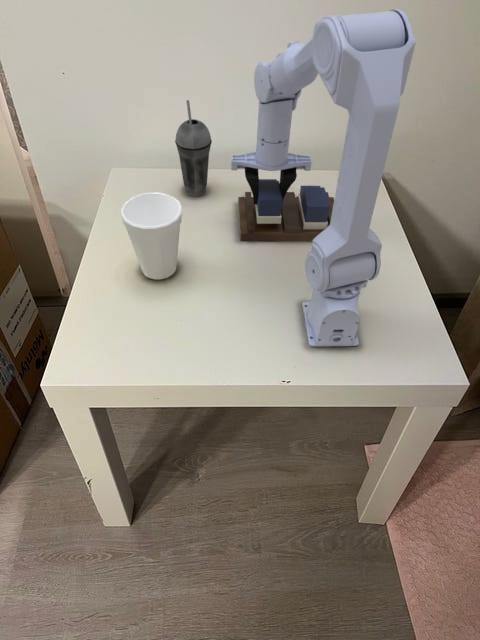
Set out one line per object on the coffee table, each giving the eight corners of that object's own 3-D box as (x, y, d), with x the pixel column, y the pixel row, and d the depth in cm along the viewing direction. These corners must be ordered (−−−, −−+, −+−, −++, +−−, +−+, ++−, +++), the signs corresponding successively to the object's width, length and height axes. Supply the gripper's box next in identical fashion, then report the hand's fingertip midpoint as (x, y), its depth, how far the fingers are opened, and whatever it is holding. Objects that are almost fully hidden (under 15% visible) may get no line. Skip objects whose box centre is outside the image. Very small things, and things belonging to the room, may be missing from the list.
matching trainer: (326, 229, 94) (331, 207, 90) (303, 229, 94) (306, 207, 90) (319, 199, 101) (322, 178, 97) (297, 199, 101) (300, 177, 97)
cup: (154, 244, 93) (146, 185, 83) (197, 263, 90) (194, 203, 80) (119, 274, 87) (107, 214, 77) (164, 296, 84) (157, 236, 74)
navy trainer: (280, 223, 93) (283, 201, 89) (256, 223, 93) (258, 201, 89) (276, 193, 99) (278, 171, 96) (254, 193, 99) (255, 171, 95)
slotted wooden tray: (341, 241, 95) (345, 227, 93) (240, 241, 94) (240, 227, 92) (331, 204, 103) (334, 192, 101) (238, 204, 102) (238, 191, 100)
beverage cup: (219, 188, 106) (218, 96, 91) (199, 204, 102) (196, 110, 87) (191, 178, 108) (187, 86, 94) (172, 193, 104) (163, 100, 89)
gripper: (311, 124, 88) (302, 189, 98) (231, 123, 87) (230, 189, 97) (317, 144, 83) (306, 210, 93) (232, 143, 82) (231, 210, 92)
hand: (267, 201), depth 95 cm, fingers closed on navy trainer, 4 cm apart
